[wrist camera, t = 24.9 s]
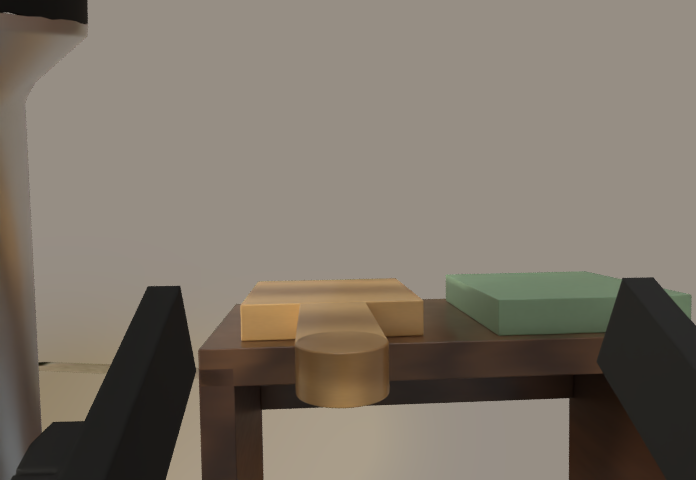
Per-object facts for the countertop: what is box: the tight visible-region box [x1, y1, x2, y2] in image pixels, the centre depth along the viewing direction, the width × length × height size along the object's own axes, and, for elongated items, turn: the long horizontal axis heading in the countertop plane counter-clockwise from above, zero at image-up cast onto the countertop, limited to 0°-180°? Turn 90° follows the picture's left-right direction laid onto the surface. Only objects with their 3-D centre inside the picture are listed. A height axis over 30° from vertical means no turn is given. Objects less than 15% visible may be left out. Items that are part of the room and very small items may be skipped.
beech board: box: [240, 278, 424, 408], centre depth 30 cm, size 21×10×2 cm, turn 4°
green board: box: [446, 272, 691, 336], centre depth 37 cm, size 11×12×2 cm
